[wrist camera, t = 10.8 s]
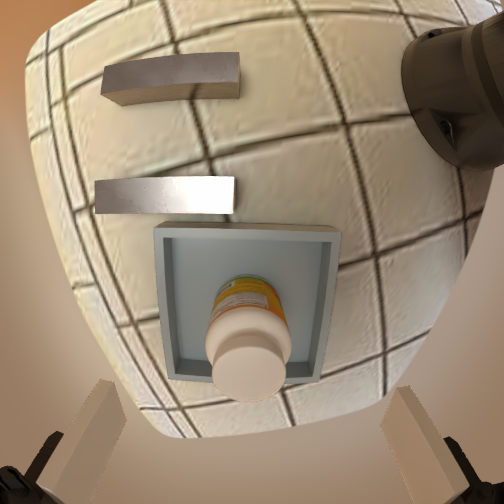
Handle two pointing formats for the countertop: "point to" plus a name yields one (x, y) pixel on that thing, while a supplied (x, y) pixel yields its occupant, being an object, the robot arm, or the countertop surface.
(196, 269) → the grey tray
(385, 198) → the countertop surface
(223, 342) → the supplement bottle
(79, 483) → the robot arm
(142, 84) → the steel jaws
